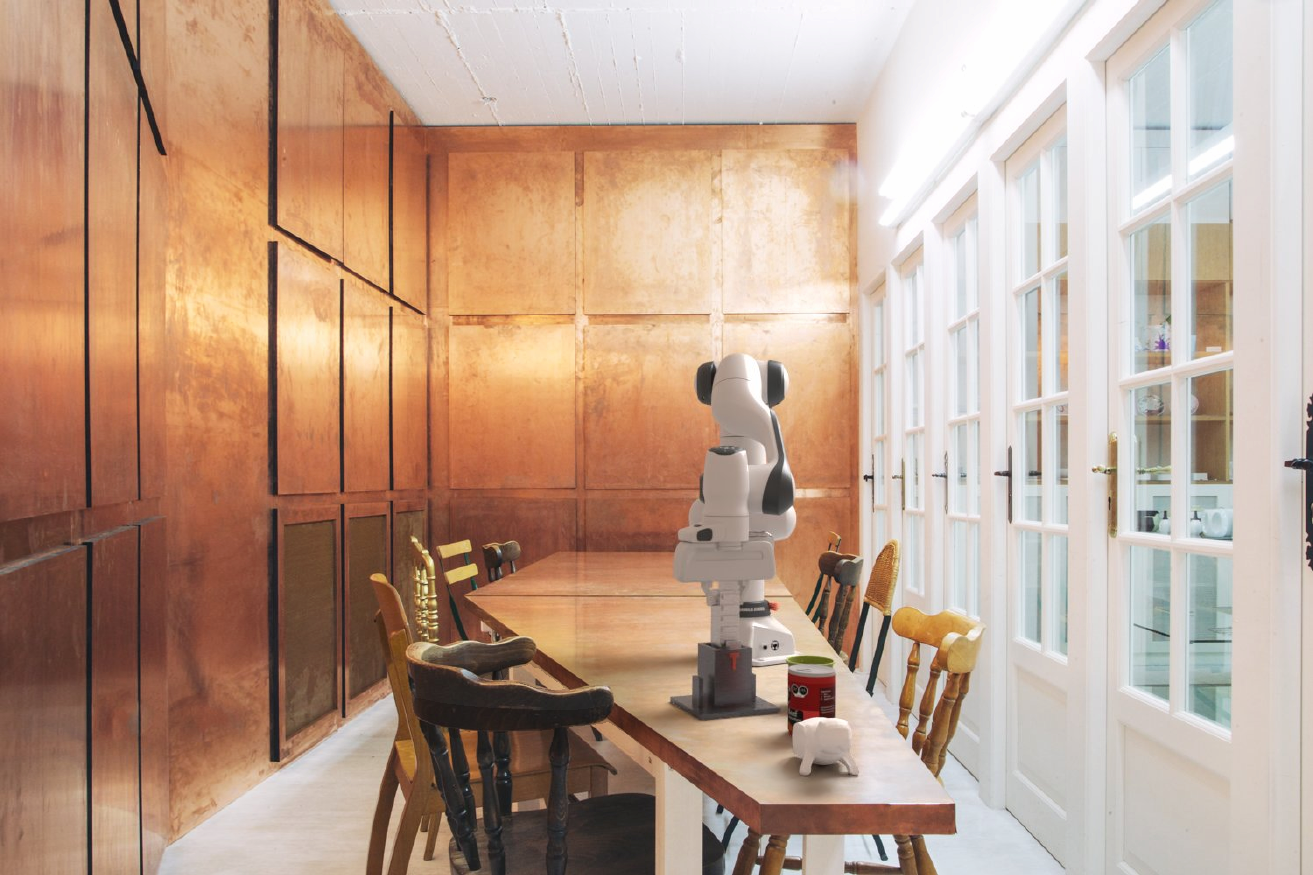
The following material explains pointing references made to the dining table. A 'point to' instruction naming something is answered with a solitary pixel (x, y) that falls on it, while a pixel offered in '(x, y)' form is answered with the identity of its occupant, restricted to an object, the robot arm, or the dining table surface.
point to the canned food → (810, 693)
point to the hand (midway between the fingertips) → (724, 605)
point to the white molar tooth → (823, 743)
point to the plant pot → (810, 660)
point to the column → (724, 617)
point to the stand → (724, 685)
